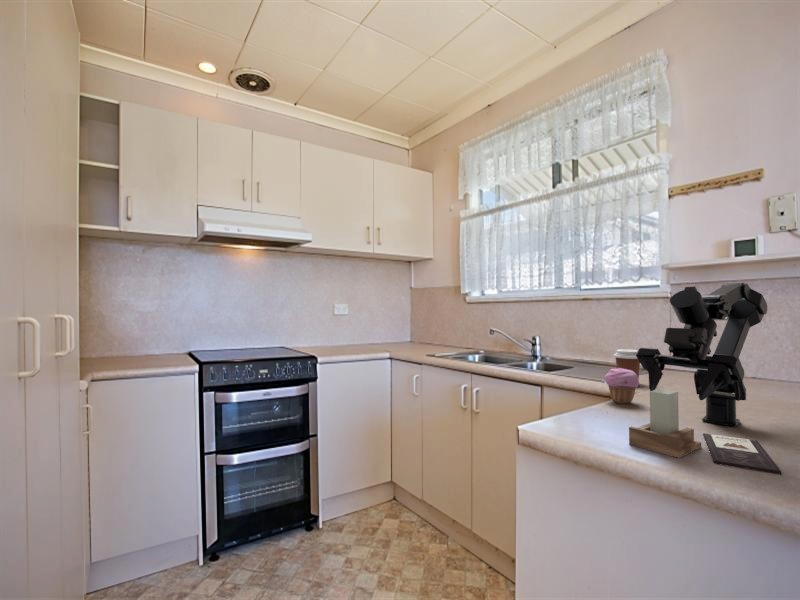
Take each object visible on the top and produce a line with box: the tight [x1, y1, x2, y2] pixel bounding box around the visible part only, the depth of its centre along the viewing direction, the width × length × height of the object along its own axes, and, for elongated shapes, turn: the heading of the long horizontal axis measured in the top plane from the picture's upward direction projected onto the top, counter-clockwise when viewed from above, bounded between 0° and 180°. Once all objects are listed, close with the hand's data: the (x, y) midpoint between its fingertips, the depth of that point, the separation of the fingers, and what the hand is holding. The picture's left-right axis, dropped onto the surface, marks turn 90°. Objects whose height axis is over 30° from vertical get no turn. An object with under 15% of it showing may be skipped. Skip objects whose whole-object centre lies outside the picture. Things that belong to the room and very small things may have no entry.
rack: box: [628, 422, 702, 459], centre depth 81 cm, size 10×9×4 cm
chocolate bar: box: [702, 432, 782, 475], centre depth 77 cm, size 9×1×18 cm
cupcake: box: [604, 368, 640, 405], centre depth 118 cm, size 9×9×10 cm
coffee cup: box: [613, 348, 641, 379], centre depth 145 cm, size 9×9×12 cm
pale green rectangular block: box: [649, 388, 680, 435], centre depth 81 cm, size 4×4×10 cm
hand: (674, 394), depth 84 cm, fingers open, 9 cm apart
